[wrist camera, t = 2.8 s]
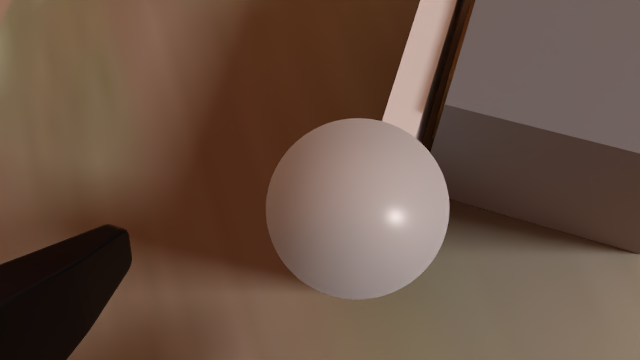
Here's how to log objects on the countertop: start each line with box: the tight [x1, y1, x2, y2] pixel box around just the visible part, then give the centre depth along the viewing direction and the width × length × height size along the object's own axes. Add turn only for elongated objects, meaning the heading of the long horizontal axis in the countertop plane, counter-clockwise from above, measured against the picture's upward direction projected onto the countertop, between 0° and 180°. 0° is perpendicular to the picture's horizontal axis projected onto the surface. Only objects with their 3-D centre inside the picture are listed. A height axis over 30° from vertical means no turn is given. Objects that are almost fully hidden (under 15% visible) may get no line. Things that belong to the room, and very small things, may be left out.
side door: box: [266, 0, 464, 299], centre depth 13 cm, size 12×3×11 cm, turn 162°
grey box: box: [430, 0, 640, 254], centre depth 15 cm, size 10×8×9 cm
